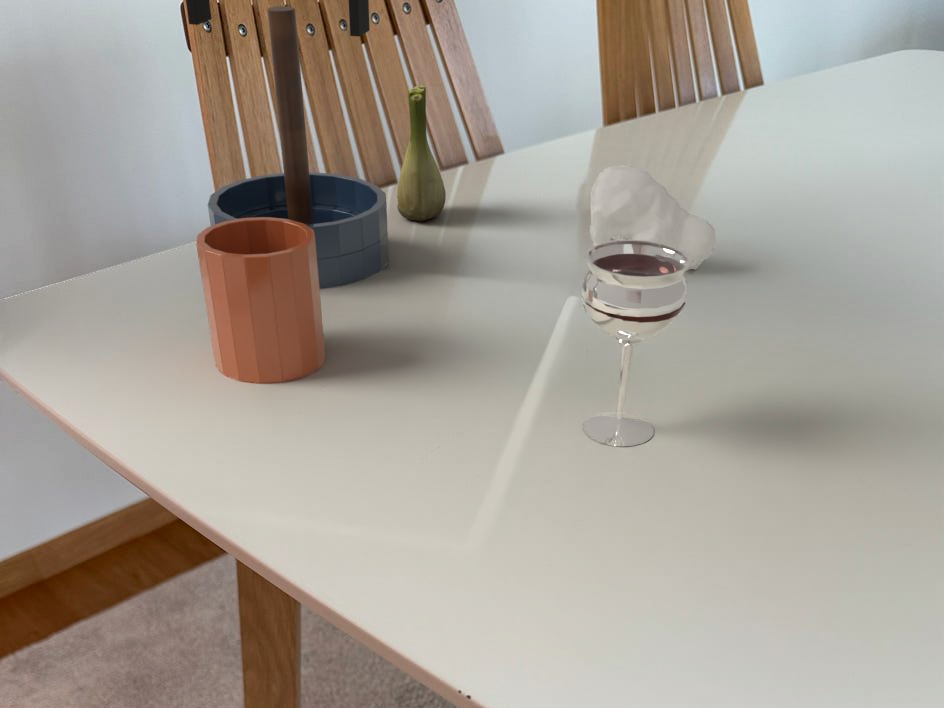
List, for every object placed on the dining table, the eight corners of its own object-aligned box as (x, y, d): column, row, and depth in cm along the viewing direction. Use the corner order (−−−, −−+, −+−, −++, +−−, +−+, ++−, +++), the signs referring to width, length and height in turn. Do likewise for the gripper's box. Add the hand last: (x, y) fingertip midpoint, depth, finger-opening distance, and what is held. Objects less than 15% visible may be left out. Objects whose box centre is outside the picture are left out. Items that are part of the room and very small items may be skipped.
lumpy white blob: (598, 153, 95) (729, 174, 94) (582, 246, 100) (705, 267, 100) (593, 173, 90) (731, 195, 90) (577, 270, 96) (706, 292, 95)
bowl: (189, 288, 92) (178, 218, 88) (256, 230, 104) (249, 166, 100) (359, 306, 89) (354, 235, 86) (408, 244, 101) (406, 179, 97)
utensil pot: (199, 386, 77) (176, 250, 71) (242, 341, 84) (224, 212, 77) (304, 398, 76) (290, 261, 70) (340, 352, 82) (330, 222, 76)
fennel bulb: (415, 205, 110) (412, 79, 103) (456, 213, 109) (456, 85, 101) (387, 221, 106) (381, 91, 99) (429, 229, 105) (427, 97, 97)
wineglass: (583, 400, 77) (597, 234, 69) (674, 414, 75) (699, 246, 67) (559, 443, 72) (572, 269, 64) (657, 460, 70) (682, 284, 62)
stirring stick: (287, 262, 95) (260, 9, 83) (295, 253, 97) (271, 5, 84) (313, 264, 95) (291, 11, 82) (321, 256, 97) (301, 7, 84)
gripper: (440, -325, 71) (440, 29, 85) (105, -331, 75) (156, 9, 89) (411, -334, 66) (416, 47, 79) (50, -340, 70) (114, 25, 83)
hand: (279, 28), depth 84 cm, fingers open, 13 cm apart
